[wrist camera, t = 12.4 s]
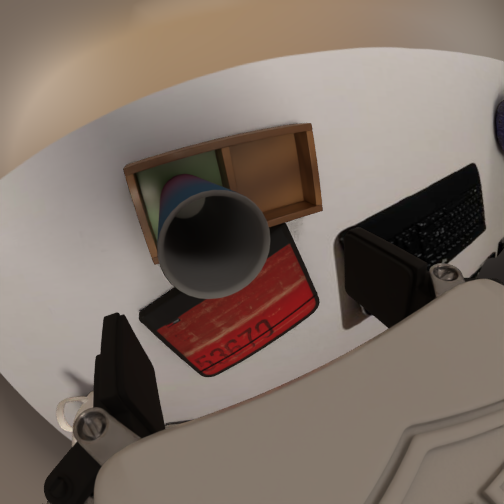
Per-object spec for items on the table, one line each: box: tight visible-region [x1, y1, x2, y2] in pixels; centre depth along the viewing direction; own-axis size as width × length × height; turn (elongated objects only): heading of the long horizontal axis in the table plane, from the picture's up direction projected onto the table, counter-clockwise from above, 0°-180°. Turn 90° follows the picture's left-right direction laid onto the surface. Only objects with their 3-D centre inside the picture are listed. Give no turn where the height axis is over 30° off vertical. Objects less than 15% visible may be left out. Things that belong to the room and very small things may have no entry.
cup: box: [157, 174, 270, 299], centre depth 23 cm, size 7×7×15 cm
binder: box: [139, 223, 319, 377], centre depth 38 cm, size 16×2×21 cm
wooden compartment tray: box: [123, 123, 323, 265], centre depth 30 cm, size 10×20×4 cm, turn 101°
